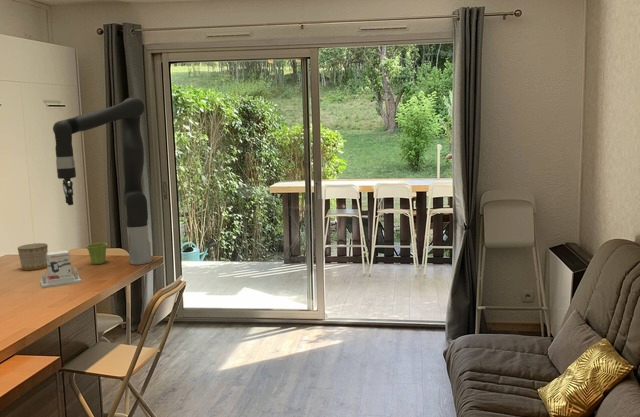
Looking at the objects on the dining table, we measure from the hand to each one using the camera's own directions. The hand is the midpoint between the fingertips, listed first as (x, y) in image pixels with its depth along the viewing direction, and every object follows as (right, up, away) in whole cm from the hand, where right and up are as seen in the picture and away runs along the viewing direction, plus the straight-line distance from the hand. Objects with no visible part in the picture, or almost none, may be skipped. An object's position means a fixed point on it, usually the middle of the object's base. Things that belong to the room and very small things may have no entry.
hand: (69, 204), depth 286 cm
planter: (-22, -30, +15) cm, 40 cm away
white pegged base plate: (+2, -33, -15) cm, 36 cm away
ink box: (+2, -32, -15) cm, 35 cm away
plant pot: (+6, -28, +20) cm, 34 cm away
